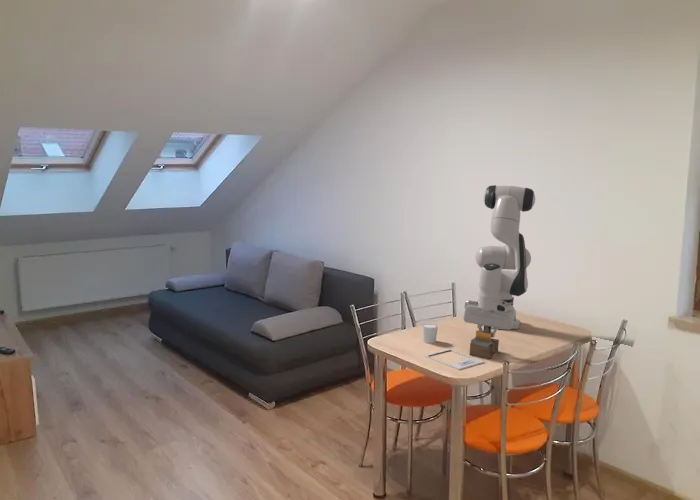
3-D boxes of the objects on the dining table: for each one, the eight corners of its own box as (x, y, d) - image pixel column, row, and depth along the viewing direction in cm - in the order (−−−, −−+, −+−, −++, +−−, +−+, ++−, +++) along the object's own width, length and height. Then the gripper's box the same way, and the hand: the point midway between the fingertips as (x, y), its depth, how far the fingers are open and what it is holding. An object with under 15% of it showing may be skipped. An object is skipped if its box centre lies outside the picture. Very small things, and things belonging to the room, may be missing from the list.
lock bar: (475, 340, 227) (475, 330, 227) (492, 343, 224) (492, 333, 223) (470, 343, 223) (471, 332, 223) (488, 346, 219) (488, 336, 219)
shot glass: (437, 340, 244) (438, 324, 243) (436, 344, 237) (436, 328, 236) (422, 338, 246) (423, 323, 245) (420, 342, 239) (420, 327, 238)
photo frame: (458, 368, 207) (424, 355, 221) (458, 371, 207) (424, 357, 221) (484, 361, 216) (449, 348, 230) (484, 363, 216) (449, 351, 230)
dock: (479, 347, 235) (480, 336, 234) (498, 351, 230) (498, 339, 230) (469, 355, 224) (470, 343, 224) (488, 359, 220) (489, 347, 220)
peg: (483, 346, 231) (485, 323, 230) (490, 348, 230) (492, 324, 228) (481, 348, 229) (482, 325, 227) (488, 349, 227) (490, 326, 226)
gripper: (462, 301, 229) (460, 333, 231) (511, 308, 219) (509, 342, 221) (467, 298, 235) (465, 329, 237) (515, 305, 224) (513, 338, 226)
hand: (487, 336), depth 229 cm, fingers closed on peg, 3 cm apart
